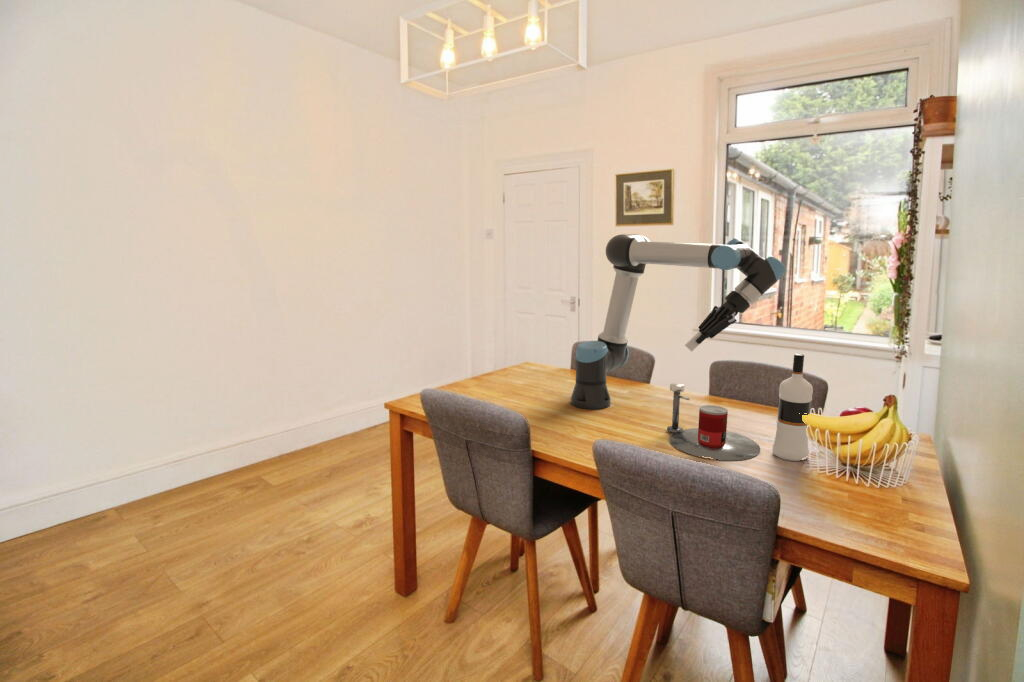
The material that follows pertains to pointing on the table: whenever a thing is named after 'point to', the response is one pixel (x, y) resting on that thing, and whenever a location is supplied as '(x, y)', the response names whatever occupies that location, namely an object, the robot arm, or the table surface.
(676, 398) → the faucet
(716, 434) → the canned food
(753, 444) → the turntable
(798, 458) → the vodka
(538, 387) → the table surface
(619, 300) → the robot arm
